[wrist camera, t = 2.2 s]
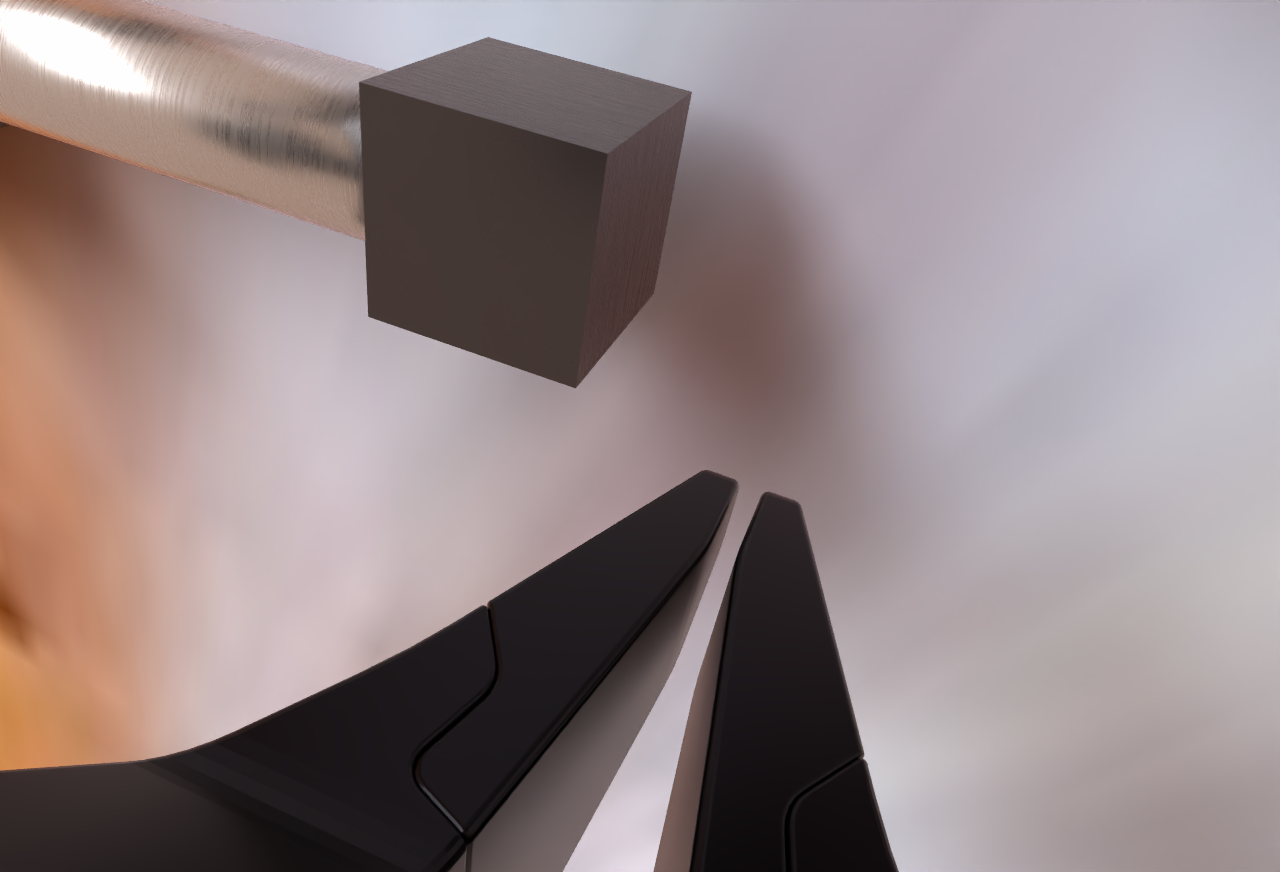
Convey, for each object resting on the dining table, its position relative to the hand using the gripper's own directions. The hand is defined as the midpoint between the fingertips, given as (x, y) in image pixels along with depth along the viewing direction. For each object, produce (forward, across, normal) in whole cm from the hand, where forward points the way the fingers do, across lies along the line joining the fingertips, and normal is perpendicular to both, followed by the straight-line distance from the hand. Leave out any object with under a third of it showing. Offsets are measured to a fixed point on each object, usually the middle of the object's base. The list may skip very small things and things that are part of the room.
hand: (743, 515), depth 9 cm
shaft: (+8, +15, 0) cm, 17 cm away
